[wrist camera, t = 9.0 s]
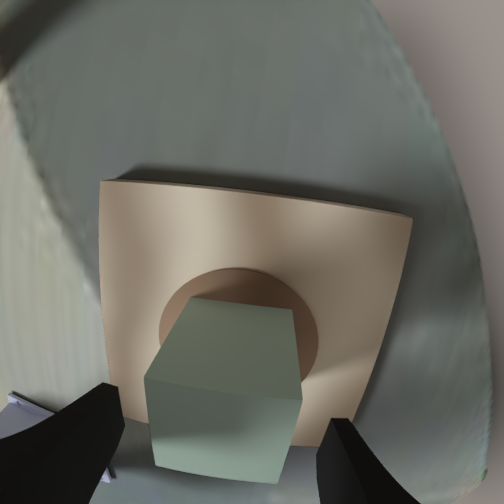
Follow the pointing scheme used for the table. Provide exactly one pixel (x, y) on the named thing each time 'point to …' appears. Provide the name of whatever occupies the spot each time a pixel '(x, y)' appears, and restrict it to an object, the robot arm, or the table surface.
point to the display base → (249, 281)
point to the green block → (225, 391)
